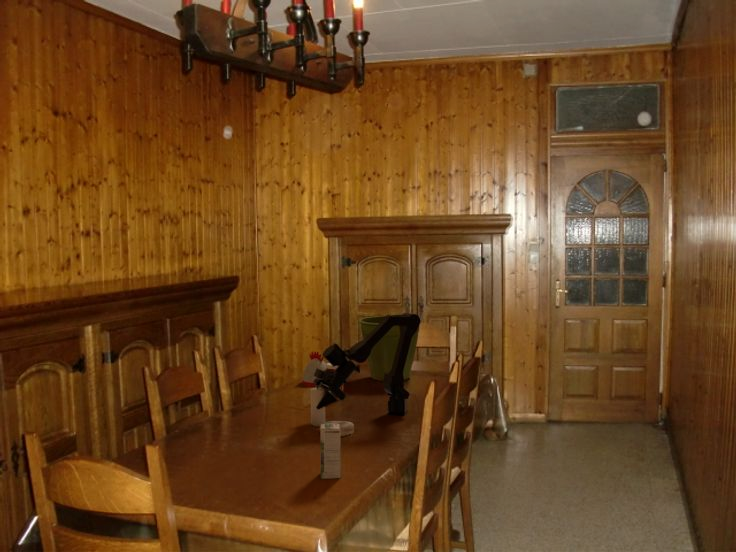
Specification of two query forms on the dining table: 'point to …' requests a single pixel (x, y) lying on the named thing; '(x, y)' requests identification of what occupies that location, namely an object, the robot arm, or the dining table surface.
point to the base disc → (343, 427)
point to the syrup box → (330, 451)
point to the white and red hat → (313, 368)
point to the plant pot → (386, 349)
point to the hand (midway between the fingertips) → (314, 407)
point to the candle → (316, 414)
